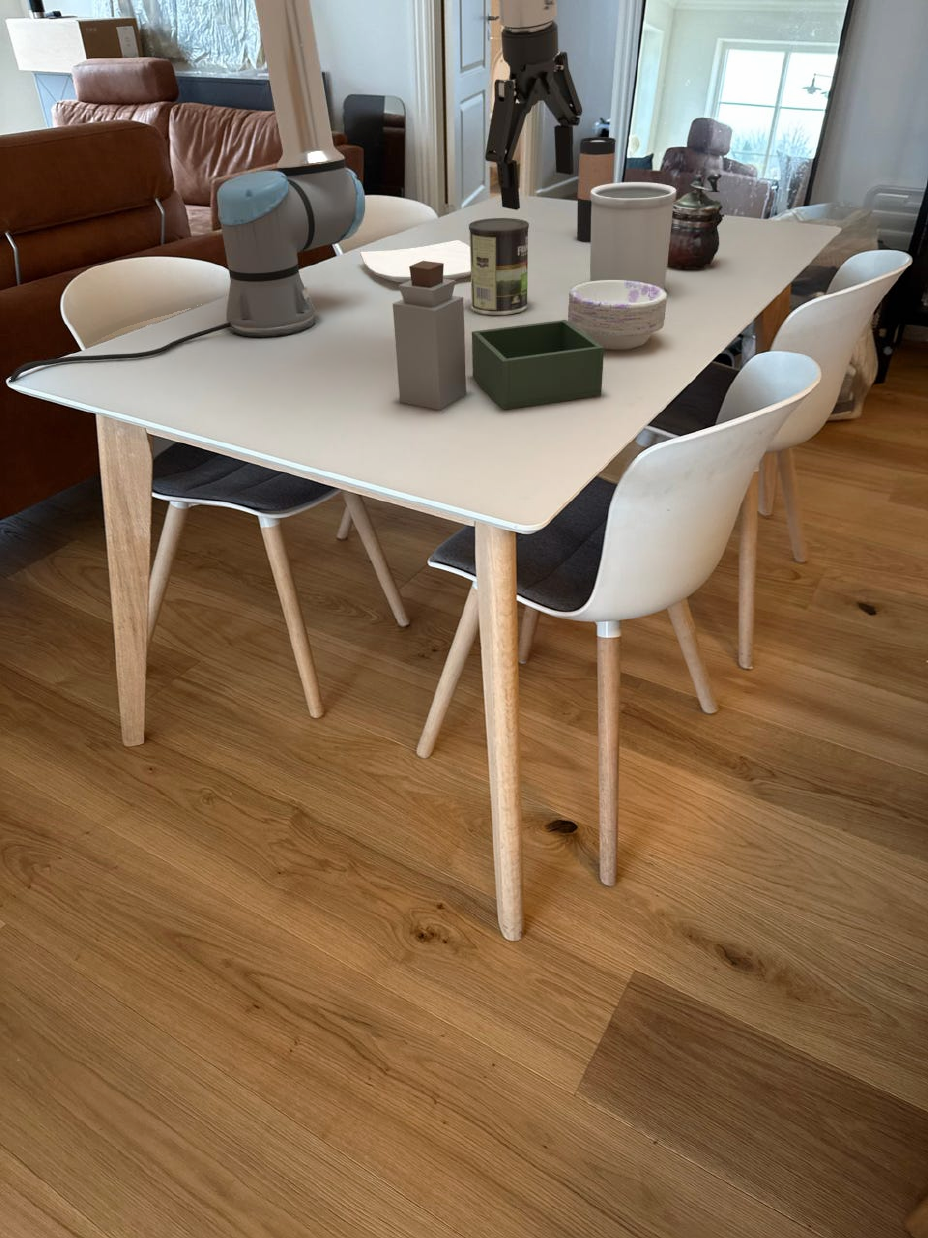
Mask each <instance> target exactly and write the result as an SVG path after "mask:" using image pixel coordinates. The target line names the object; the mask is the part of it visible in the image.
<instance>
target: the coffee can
mask: <svg viewBox="0 0 928 1238" xmlns="http://www.w3.org/2000/svg"><path fill="white" fill-rule="evenodd" d="M529 228H530V223H529V222H528V221H527V220H524V219H521V218H513V217H493V218H484V219H479V220H474V221H472V222H470V223H468V230H469V246H470V264H471V275H470V292H471V294H470V295H471V296H470V297H471V298H470V299H471V305H470V308H471V310H472V311H473V312H475V313H478V314H481V315H486V316H507V315H509V316H510V315H514V314H519V313H522V312H524V311H526V310H527V309H528V305H529V304H528V274H529V273H528V271H529V270H528V269H529V268H528V267H529V266H528V263H529V261H528V259H529V257H528V256H529V248H528V247H529Z"/></svg>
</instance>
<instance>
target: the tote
mask: <svg viewBox="0 0 928 1238" xmlns="http://www.w3.org/2000/svg"><path fill="white" fill-rule="evenodd" d="M604 357H605V349H604V347H603V346H601V345H600V344H599V343H597V342H596V341H594V340H593V339H592V338H590V337H589V336H587V335H586V334H585V333H583V332H582V331H581V330H579V329H578V328H576V327H575V326H574V325H572V324H571V323H570V322H569V321H568V319H561V320H560V319H559V320H551V321H544V322H537V323H528V324H521V325H514V326H505V327H497V328H488V329H481V330H474V331H471V359H472V362H471V363H472V364H471V365H472V366H471V367H472V378H473V379H474V380H475V381H476V382H477V383H478V385H479V386H480V387H481V388H482V389H483V390H484V391H485V392H486V394H488V395H489V397H490V398H491V399H492V400H493V401H494V402H495V403H496V404H497V405H498V407H500V409H501V410H502V411H505V410H506V411H507V410H513V409H519V408H526V407H532V406H540V405H545V404H553V403H558V402H565V401H566V402H567V401H573V400H579V399H587V398H594V397H598V396H599V397H600V396H602V390H603V373H604Z"/></svg>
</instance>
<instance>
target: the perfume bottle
mask: <svg viewBox="0 0 928 1238" xmlns="http://www.w3.org/2000/svg"><path fill="white" fill-rule="evenodd" d="M443 268H444V263H437V262H429V261H421V262H419V263H416V264H414V265H411V266H409V269H410V276H411V280H410V281H408V282H406V283H401V284H398V288H399V290H400V293H401V297H402V299H400V300H397V301H396V302H393V303H392V313H393V314H392V315H393V326H394V328H393V329H394V338H395V339H394V340H395V355H396V356H395V357H396V368H397V380H398V395H399V396H398V397H399V402H400V403H404V404H408V405H411V406H412V405H413V406H417V407H422V408H426V409H431V410H436V411H441V410H443V409H445V408H446V407H448V406H450V405H451V404H453V403H455V402H456V401H457V400H459V399H461V398H462V397H465V396H466V395H467V379H466V377H467V376H466V343H465V342H466V341H465V340H466V339H465V306H464V296H459V295H453V294H454V289H455V286H456V281H457V279H453V280H450V279H443Z"/></svg>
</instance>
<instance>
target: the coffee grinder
mask: <svg viewBox="0 0 928 1238" xmlns="http://www.w3.org/2000/svg"><path fill="white" fill-rule="evenodd" d="M720 178H722V174H720V173H711V174H710V175H708V176H707V178H706V180H707V181H708V182H709V184H710V186H711V188H708V187H704V186H703V182H702V181H703V176H702V174H695V175H694V181H693V182H692V183H690V186H691V187H693V190H692V191H690V192H688V193H686V194H683V196H681V198H678V199H676V198H675V200H674V202H673V213H672V223H671V233H670V242H669V252H668V262H667V267H676V268H679V269H682V270H686V269H700V270H702V269H705V267H706V266H708V265H711V263H712V261H713V260H714V258H715V256H716V254H717V253H718V251H719V249H720V248H719V247H720V234H719V229H718V226H719V225H720V224H721V223H722V221H723V220H724V219H723V218H725V213H722V214H721V213H720V211H721V210H722V209H723V205H722V204H721V203H722V202H720V201H719V200H717V199H712V198H709V197H708V196H707V194H705V193H704V192H703V191H704V190H705V191H707V192H708V193H721V191H720V190H718V181H719V180H720Z"/></svg>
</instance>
